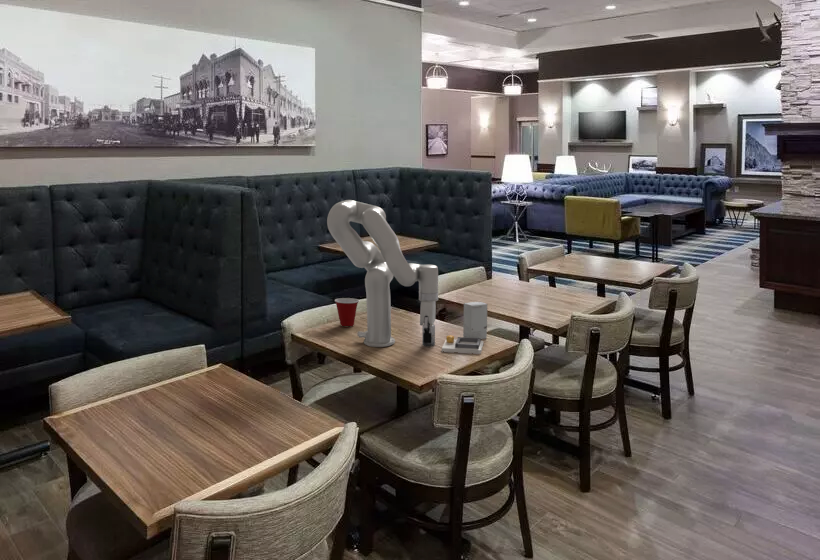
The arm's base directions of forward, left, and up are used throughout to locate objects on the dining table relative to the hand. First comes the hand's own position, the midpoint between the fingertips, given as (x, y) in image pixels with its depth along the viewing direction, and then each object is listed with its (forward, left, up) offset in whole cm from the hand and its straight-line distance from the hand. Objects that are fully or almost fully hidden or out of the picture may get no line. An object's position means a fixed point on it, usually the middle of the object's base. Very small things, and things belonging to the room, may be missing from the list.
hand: (428, 340), depth 251 cm
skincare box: (+17, +12, -2) cm, 21 cm away
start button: (+9, 0, 0) cm, 9 cm away
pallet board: (+14, -2, -2) cm, 14 cm away
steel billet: (0, 0, -2) cm, 2 cm away
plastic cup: (-40, +21, -2) cm, 45 cm away
